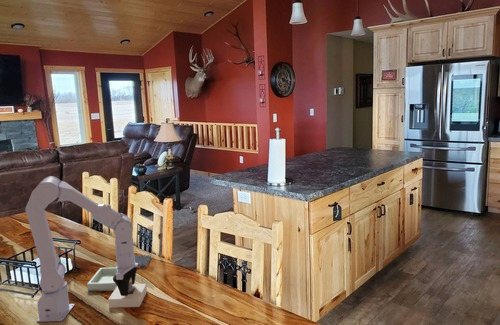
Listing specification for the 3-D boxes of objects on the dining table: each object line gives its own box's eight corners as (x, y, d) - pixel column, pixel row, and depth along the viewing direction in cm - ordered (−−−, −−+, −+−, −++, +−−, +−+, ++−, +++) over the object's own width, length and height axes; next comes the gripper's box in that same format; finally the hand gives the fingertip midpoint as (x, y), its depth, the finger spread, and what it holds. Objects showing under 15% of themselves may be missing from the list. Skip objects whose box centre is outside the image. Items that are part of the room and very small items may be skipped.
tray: (124, 290, 139) (123, 282, 138) (87, 291, 139) (87, 283, 138) (134, 273, 152) (133, 266, 151) (101, 274, 152) (100, 267, 151)
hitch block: (139, 306, 128) (138, 298, 127) (109, 307, 128) (108, 299, 127) (146, 291, 138) (146, 283, 137) (118, 292, 138) (118, 284, 137)
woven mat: (120, 270, 156) (120, 265, 156) (128, 259, 166) (128, 254, 166) (146, 269, 156) (145, 265, 156) (152, 258, 166) (152, 254, 166)
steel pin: (131, 301, 131) (130, 280, 130) (122, 301, 131) (121, 280, 130) (134, 297, 134) (132, 276, 133) (125, 297, 134) (124, 276, 133)
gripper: (130, 260, 123) (133, 300, 125) (142, 243, 137) (145, 279, 139) (108, 261, 122) (111, 300, 125) (122, 243, 137) (125, 279, 139)
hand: (127, 289), depth 132 cm, fingers open, 7 cm apart
